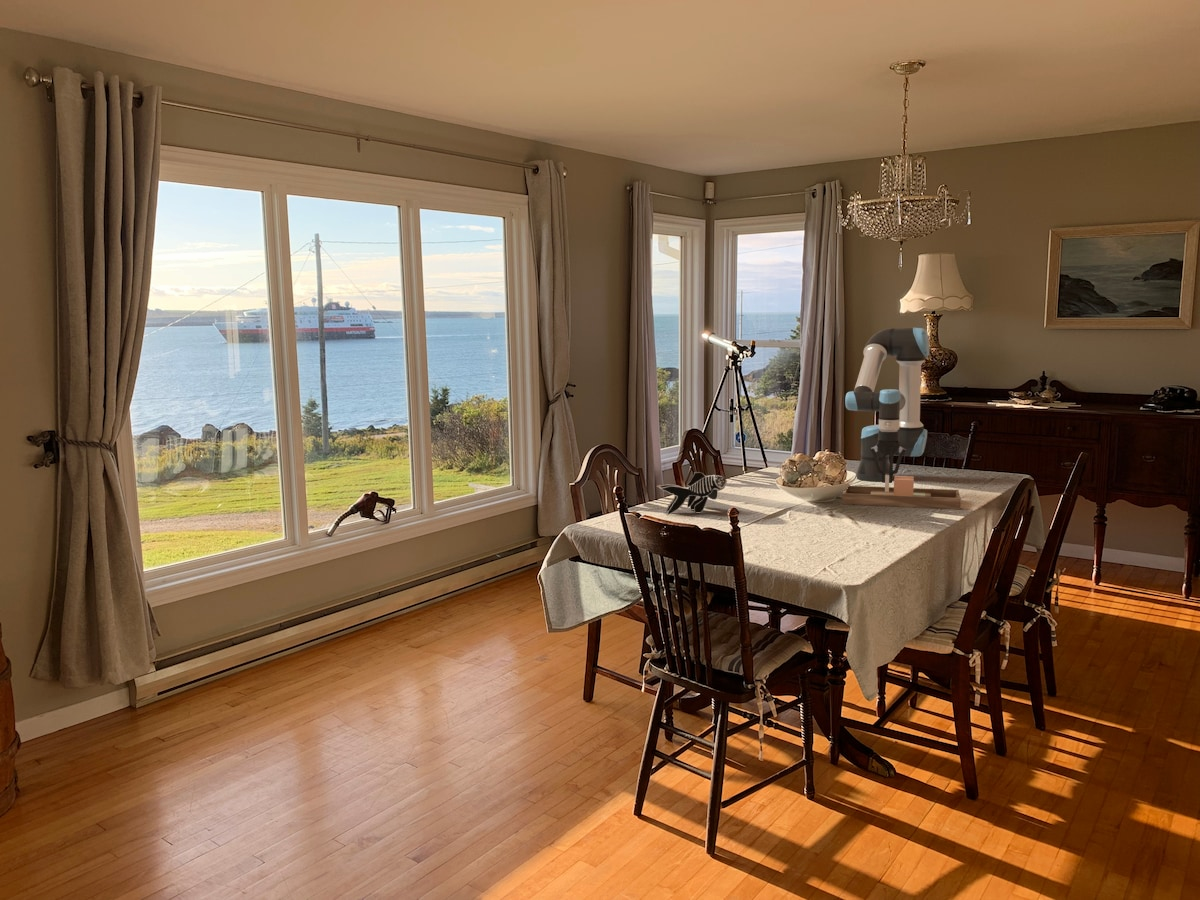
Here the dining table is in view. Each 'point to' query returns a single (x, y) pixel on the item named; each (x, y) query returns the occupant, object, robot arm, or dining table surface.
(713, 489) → the decorative fish
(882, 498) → the trap box
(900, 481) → the block
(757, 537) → the dining table surface
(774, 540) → the dining table surface
